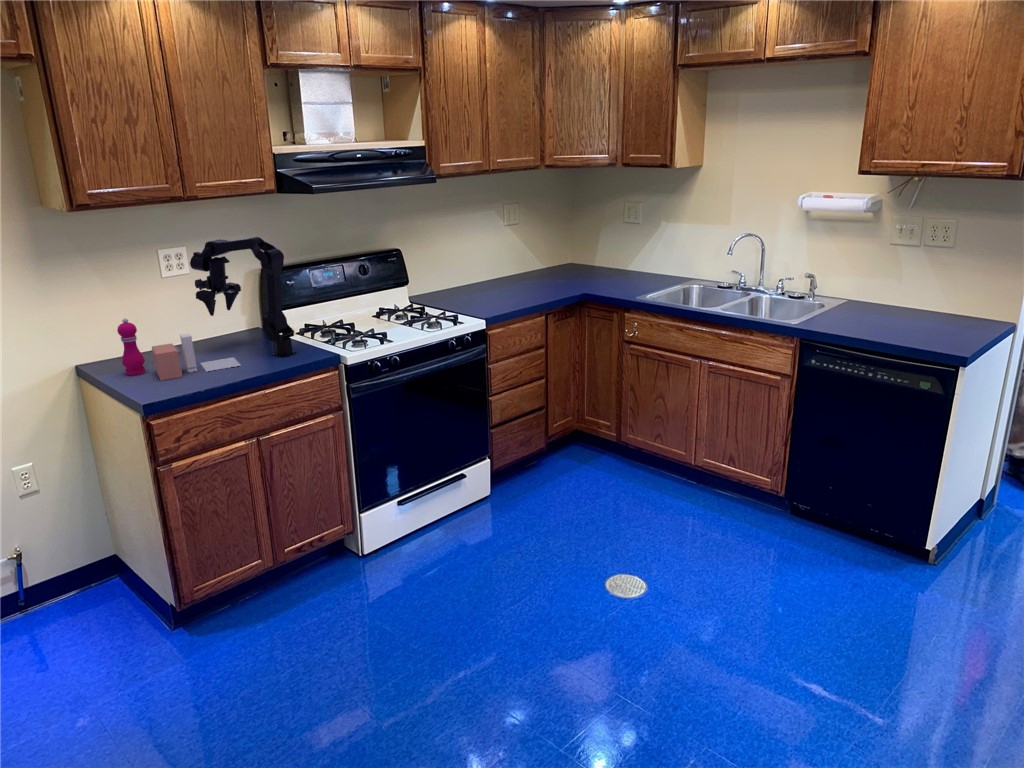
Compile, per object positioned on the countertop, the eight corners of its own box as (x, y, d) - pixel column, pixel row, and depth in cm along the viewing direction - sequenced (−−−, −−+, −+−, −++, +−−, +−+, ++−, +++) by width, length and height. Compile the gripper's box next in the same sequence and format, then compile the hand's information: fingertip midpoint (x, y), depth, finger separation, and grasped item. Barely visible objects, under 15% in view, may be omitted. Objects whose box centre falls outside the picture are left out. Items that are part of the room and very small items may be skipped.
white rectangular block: (195, 367, 266) (189, 333, 261) (197, 371, 261) (191, 336, 257) (185, 369, 264) (179, 334, 260) (188, 372, 260) (182, 337, 256)
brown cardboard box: (179, 367, 266) (175, 342, 263) (185, 376, 256) (180, 350, 253) (156, 371, 262) (151, 346, 259) (160, 380, 252) (155, 354, 249)
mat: (234, 358, 275) (233, 357, 275) (241, 366, 266) (241, 365, 266) (200, 364, 269) (200, 363, 269) (206, 372, 260) (206, 371, 260)
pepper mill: (121, 373, 261) (110, 318, 255) (142, 368, 266) (132, 314, 259) (128, 377, 256) (117, 322, 250) (150, 372, 261) (139, 318, 254)
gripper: (217, 266, 288) (220, 304, 294) (182, 274, 272) (185, 315, 278) (240, 270, 285) (243, 308, 291) (206, 279, 269) (209, 320, 274)
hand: (220, 313), depth 283 cm, fingers open, 9 cm apart
